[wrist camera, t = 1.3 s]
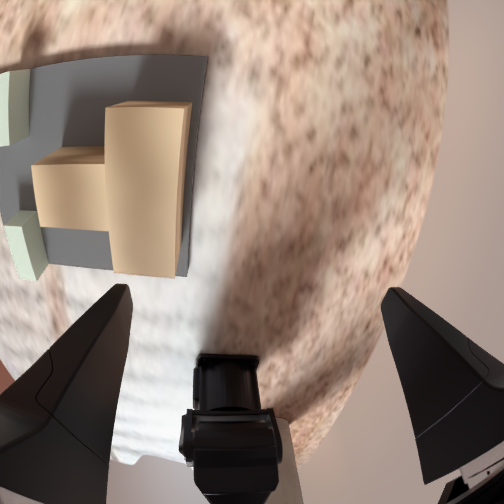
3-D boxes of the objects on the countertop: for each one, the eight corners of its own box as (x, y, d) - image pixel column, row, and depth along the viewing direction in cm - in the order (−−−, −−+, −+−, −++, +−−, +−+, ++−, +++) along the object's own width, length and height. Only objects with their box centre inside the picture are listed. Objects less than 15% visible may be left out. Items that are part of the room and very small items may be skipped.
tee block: (192, 102, 16) (184, 108, 12) (181, 243, 21) (174, 278, 18) (61, 104, 14) (28, 114, 11) (71, 235, 19) (49, 265, 16)
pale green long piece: (30, 68, 12) (9, 71, 10) (48, 263, 20) (36, 281, 18) (11, 73, 12) (-10, 77, 10) (31, 261, 20) (19, 278, 18)
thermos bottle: (254, 437, 45) (272, 572, 22) (232, 425, 41) (248, 580, 18) (295, 425, 44) (322, 566, 21) (277, 412, 40) (305, 577, 16)
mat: (208, 57, 15) (207, 56, 14) (187, 270, 23) (186, 276, 23) (-5, 78, 12) (-11, 80, 11) (16, 254, 20) (12, 258, 20)
